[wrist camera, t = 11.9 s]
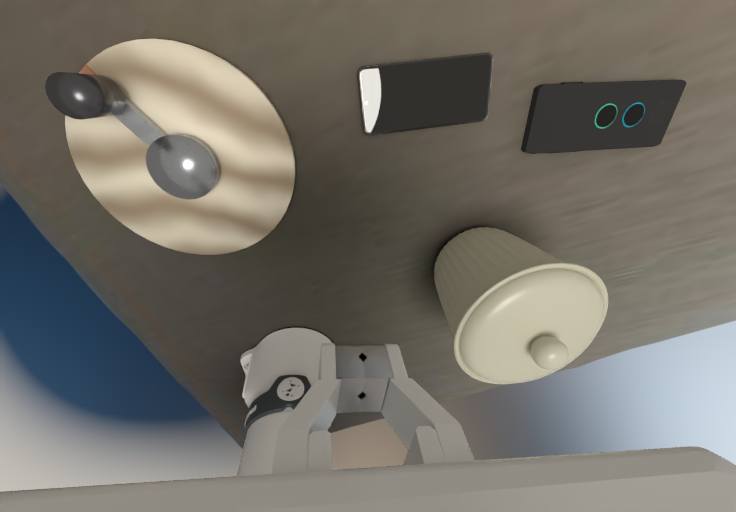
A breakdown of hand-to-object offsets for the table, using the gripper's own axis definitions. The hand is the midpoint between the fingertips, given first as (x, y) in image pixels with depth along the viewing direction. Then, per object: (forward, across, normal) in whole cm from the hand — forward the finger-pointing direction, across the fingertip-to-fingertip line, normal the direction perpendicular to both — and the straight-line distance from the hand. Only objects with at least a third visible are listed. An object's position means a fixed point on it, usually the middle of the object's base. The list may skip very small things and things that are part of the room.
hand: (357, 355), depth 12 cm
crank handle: (+29, +20, -1) cm, 35 cm away
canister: (+31, -23, +12) cm, 41 cm away
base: (+31, +17, +1) cm, 35 cm away
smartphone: (+32, -10, -10) cm, 35 cm away
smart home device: (+32, -34, -11) cm, 48 cm away
